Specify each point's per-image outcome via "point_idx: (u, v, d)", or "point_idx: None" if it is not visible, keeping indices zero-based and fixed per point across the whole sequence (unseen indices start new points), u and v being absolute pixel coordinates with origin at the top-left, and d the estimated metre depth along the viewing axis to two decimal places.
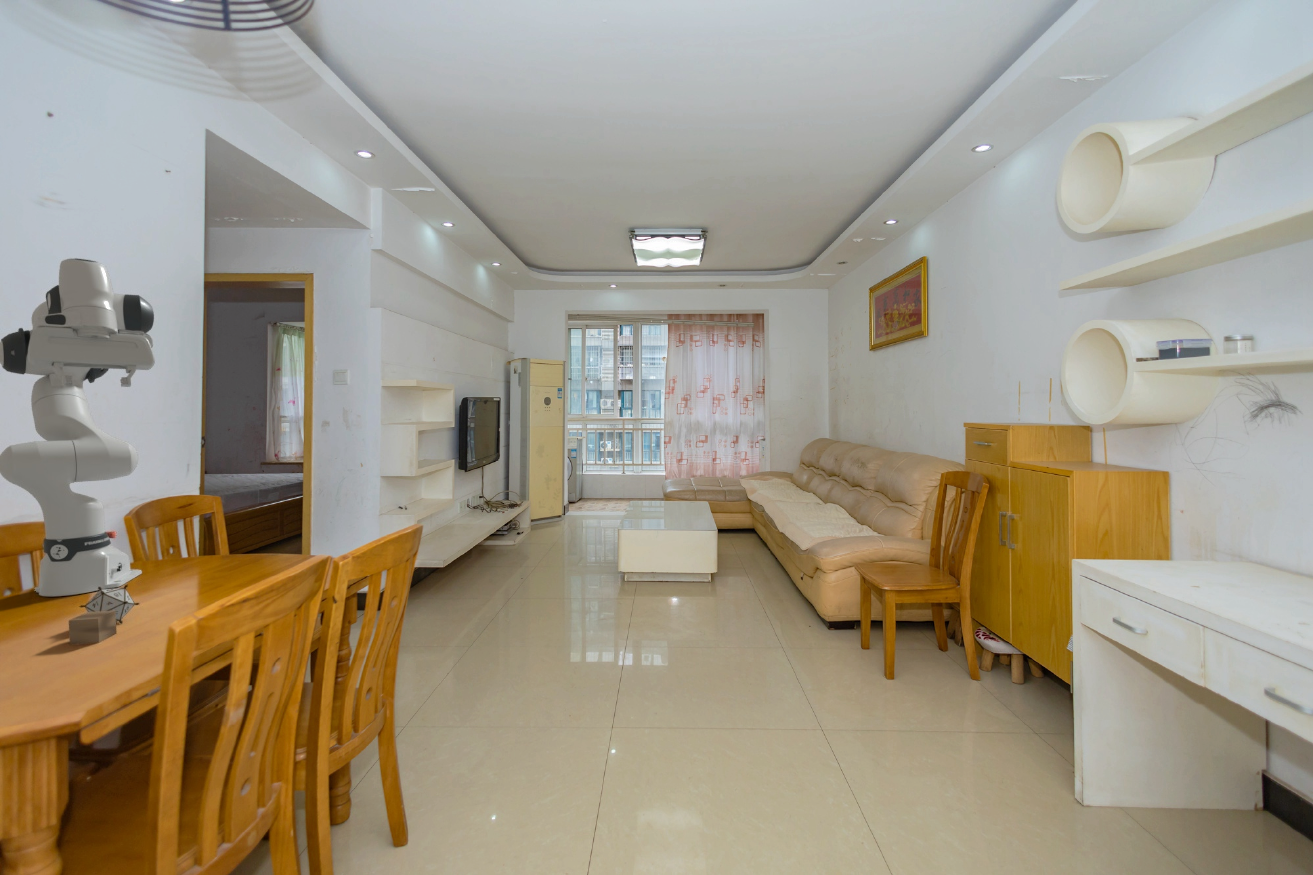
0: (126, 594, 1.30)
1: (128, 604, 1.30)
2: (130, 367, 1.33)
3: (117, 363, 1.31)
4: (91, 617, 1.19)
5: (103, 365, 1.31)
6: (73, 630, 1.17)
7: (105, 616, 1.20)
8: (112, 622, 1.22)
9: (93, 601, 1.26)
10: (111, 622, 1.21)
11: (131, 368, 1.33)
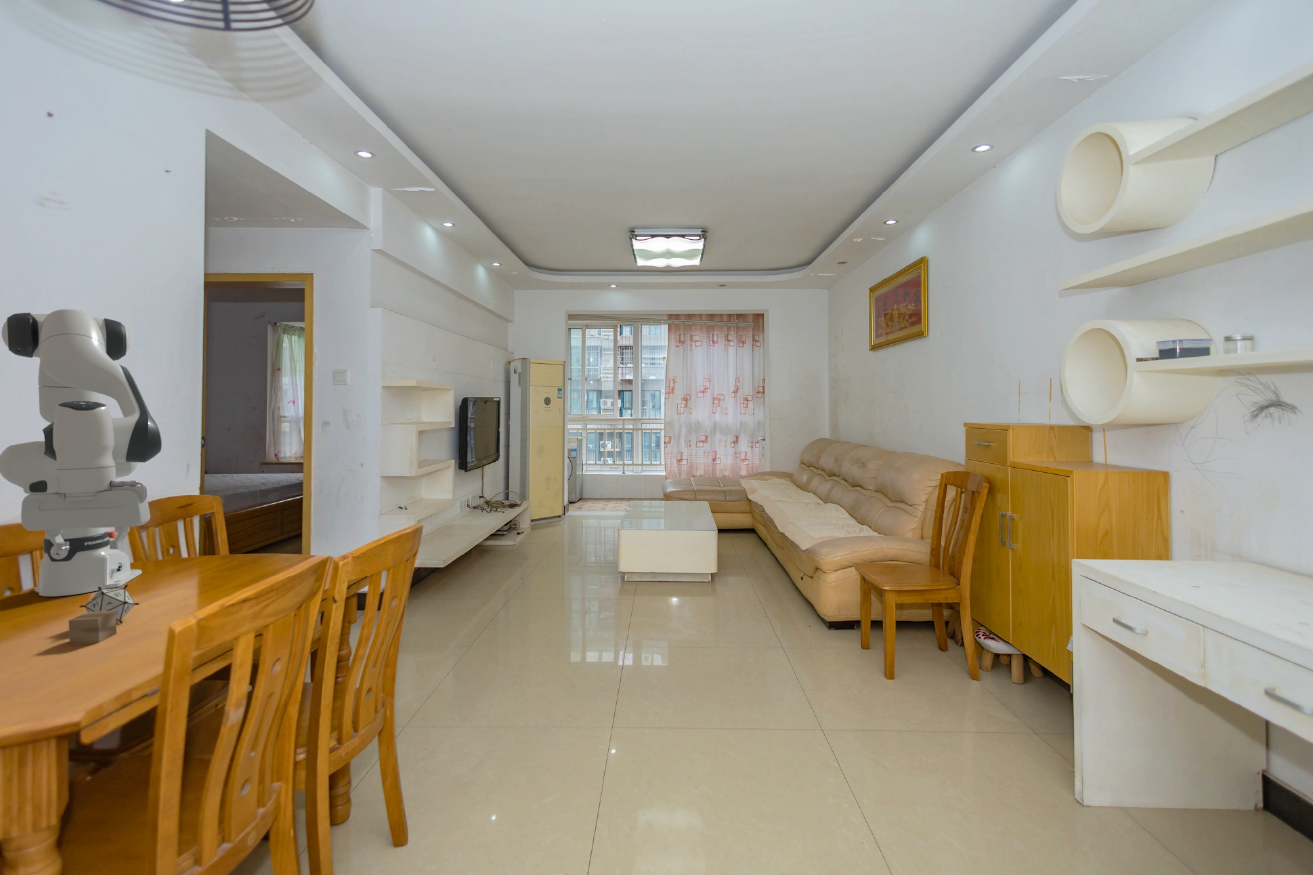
0: (126, 594, 1.30)
1: (128, 604, 1.30)
2: (117, 529, 1.19)
3: (102, 527, 1.18)
4: (91, 617, 1.19)
5: None
6: (73, 630, 1.17)
7: (105, 616, 1.20)
8: (112, 622, 1.22)
9: (93, 601, 1.26)
10: (111, 622, 1.21)
11: (118, 530, 1.19)
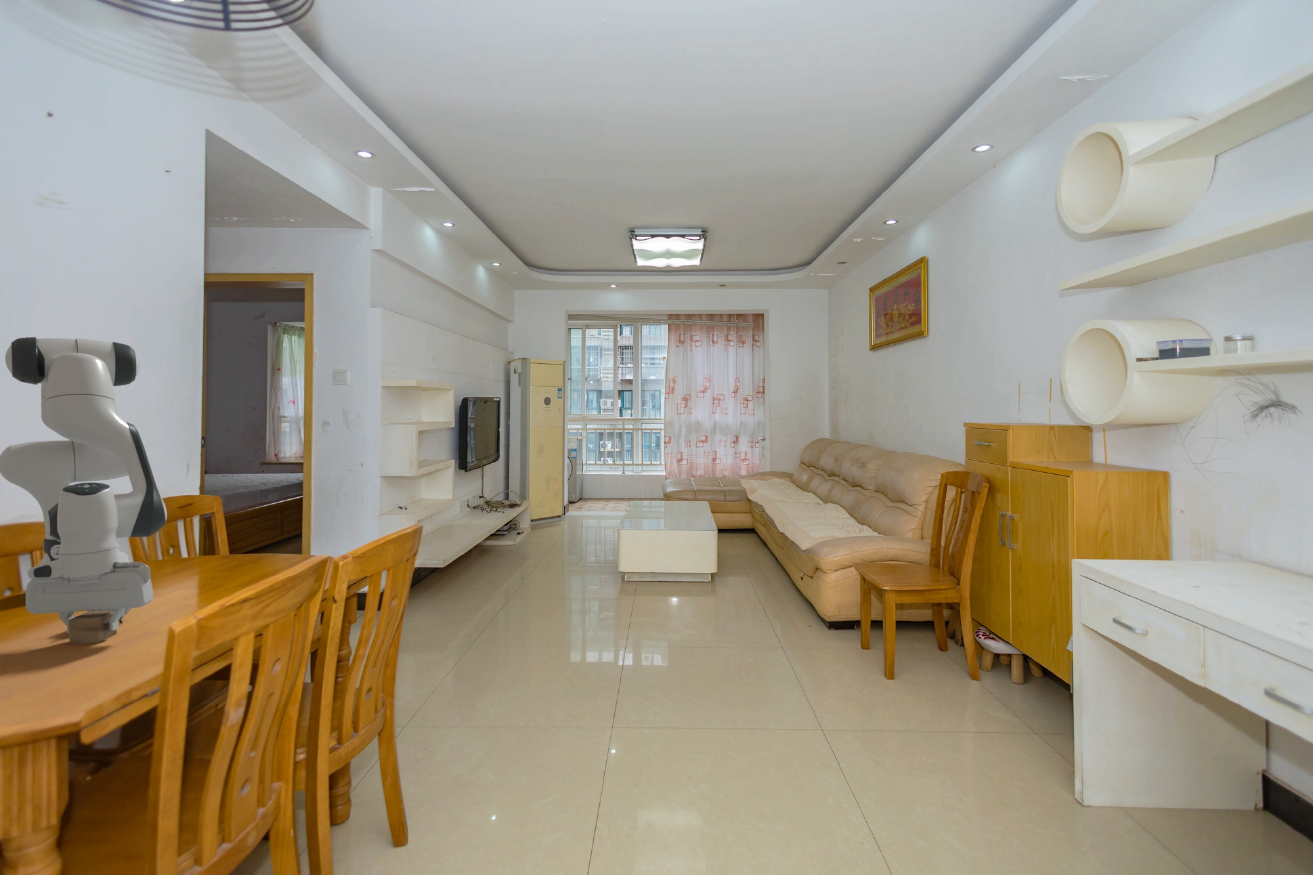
0: None
1: None
2: (112, 611, 1.20)
3: (106, 609, 1.19)
4: (91, 616, 1.18)
5: None
6: (73, 629, 1.17)
7: (105, 615, 1.20)
8: None
9: None
10: None
11: (113, 612, 1.20)
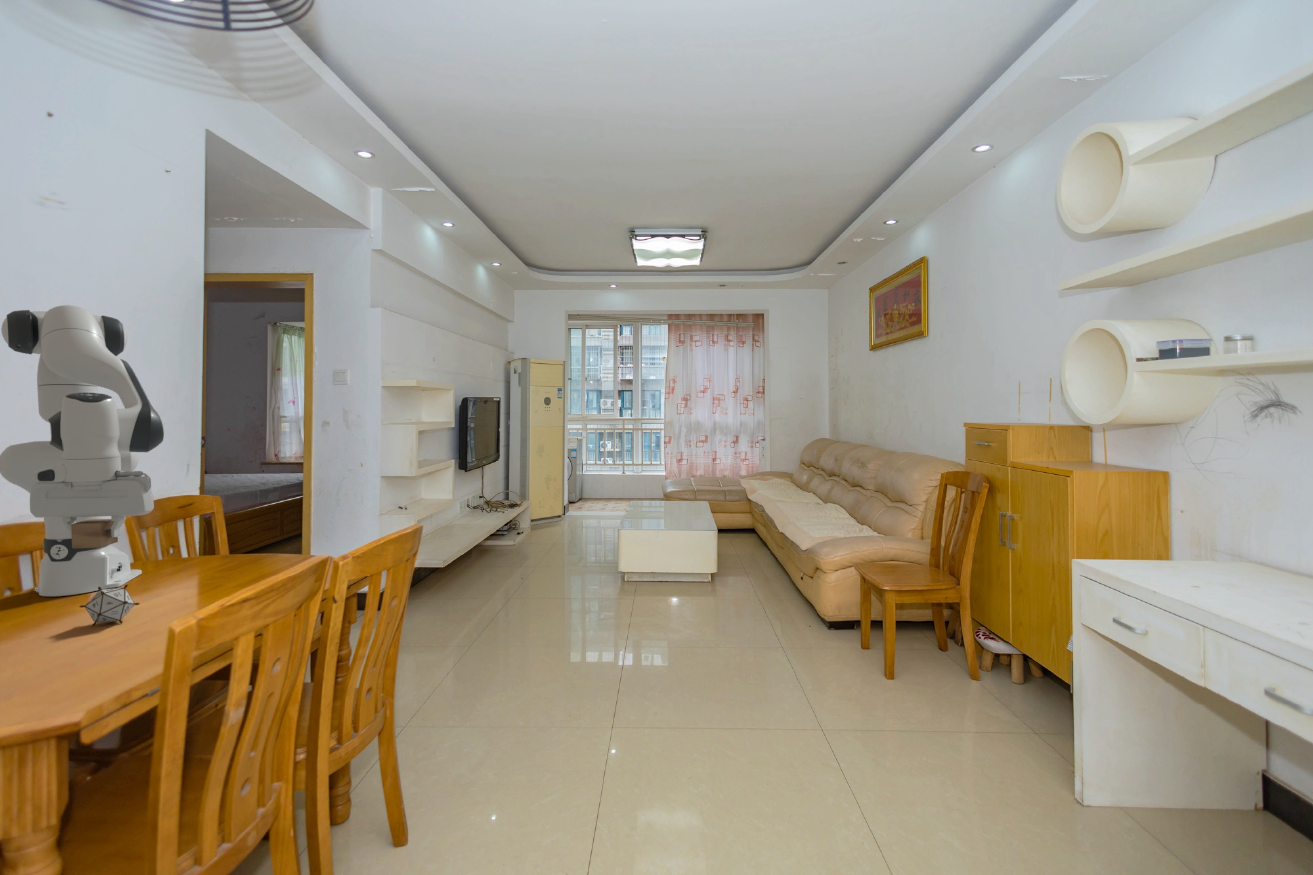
0: (126, 594, 1.30)
1: (128, 604, 1.30)
2: (114, 518, 1.22)
3: (108, 515, 1.22)
4: (93, 522, 1.21)
5: None
6: (75, 534, 1.20)
7: (107, 522, 1.23)
8: None
9: (93, 601, 1.26)
10: None
11: (115, 519, 1.23)
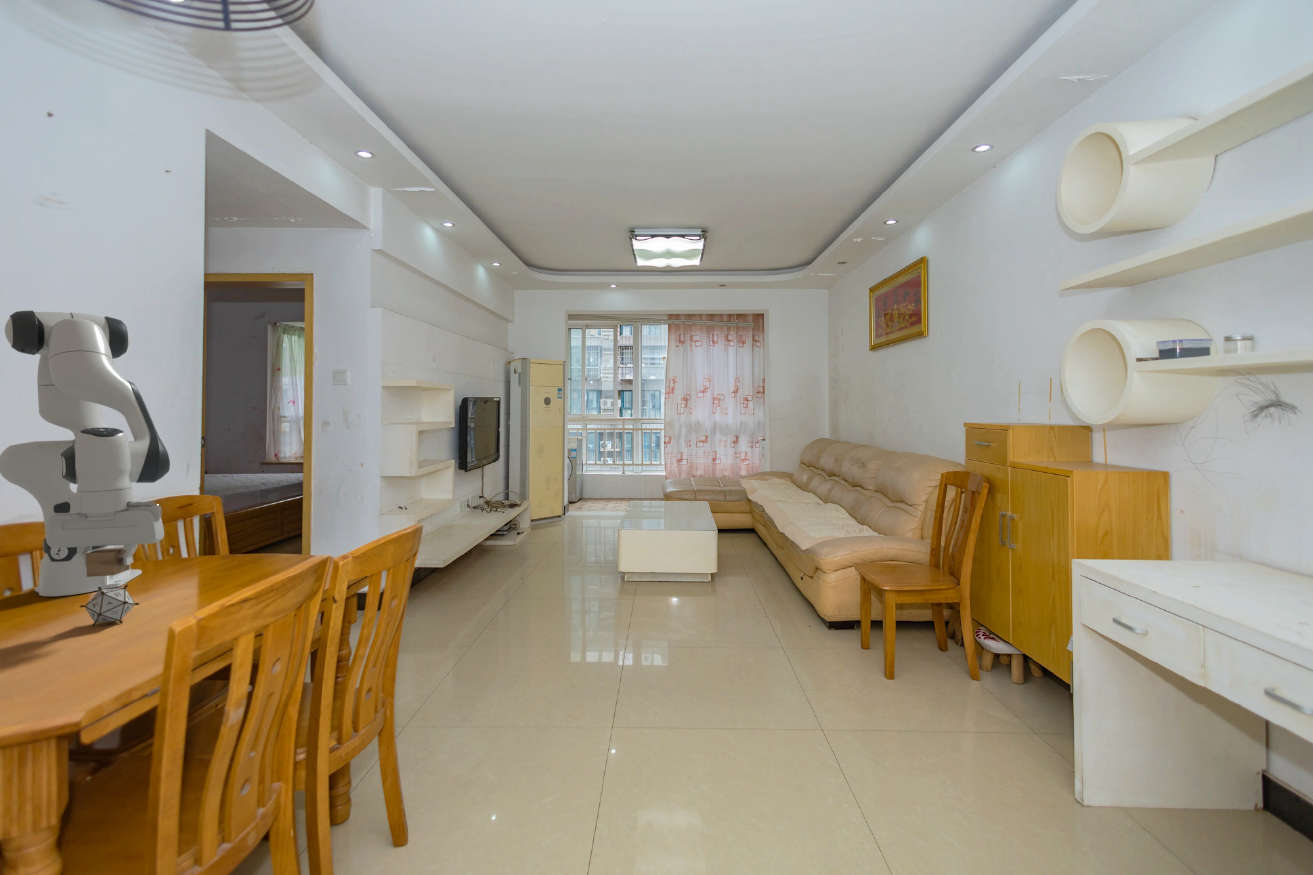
0: (126, 594, 1.30)
1: (128, 604, 1.30)
2: (126, 546, 1.28)
3: (121, 544, 1.28)
4: (106, 551, 1.27)
5: None
6: (90, 563, 1.26)
7: (119, 551, 1.28)
8: None
9: (93, 601, 1.26)
10: None
11: (127, 547, 1.28)
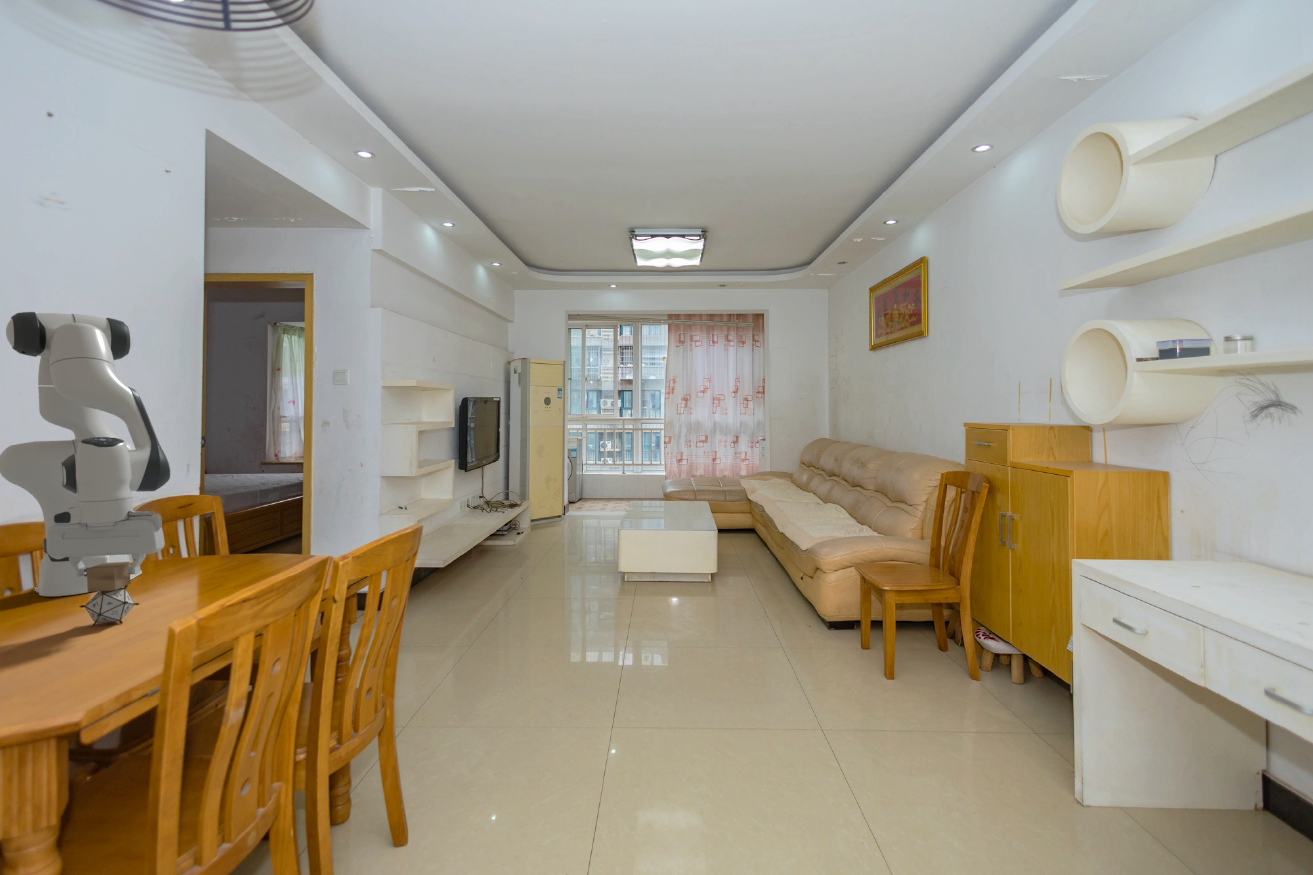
0: (126, 594, 1.30)
1: (128, 604, 1.30)
2: (134, 556, 1.29)
3: (121, 554, 1.28)
4: (107, 566, 1.27)
5: None
6: (91, 578, 1.26)
7: (120, 566, 1.29)
8: (126, 572, 1.30)
9: (93, 601, 1.26)
10: (125, 572, 1.30)
11: (135, 557, 1.29)
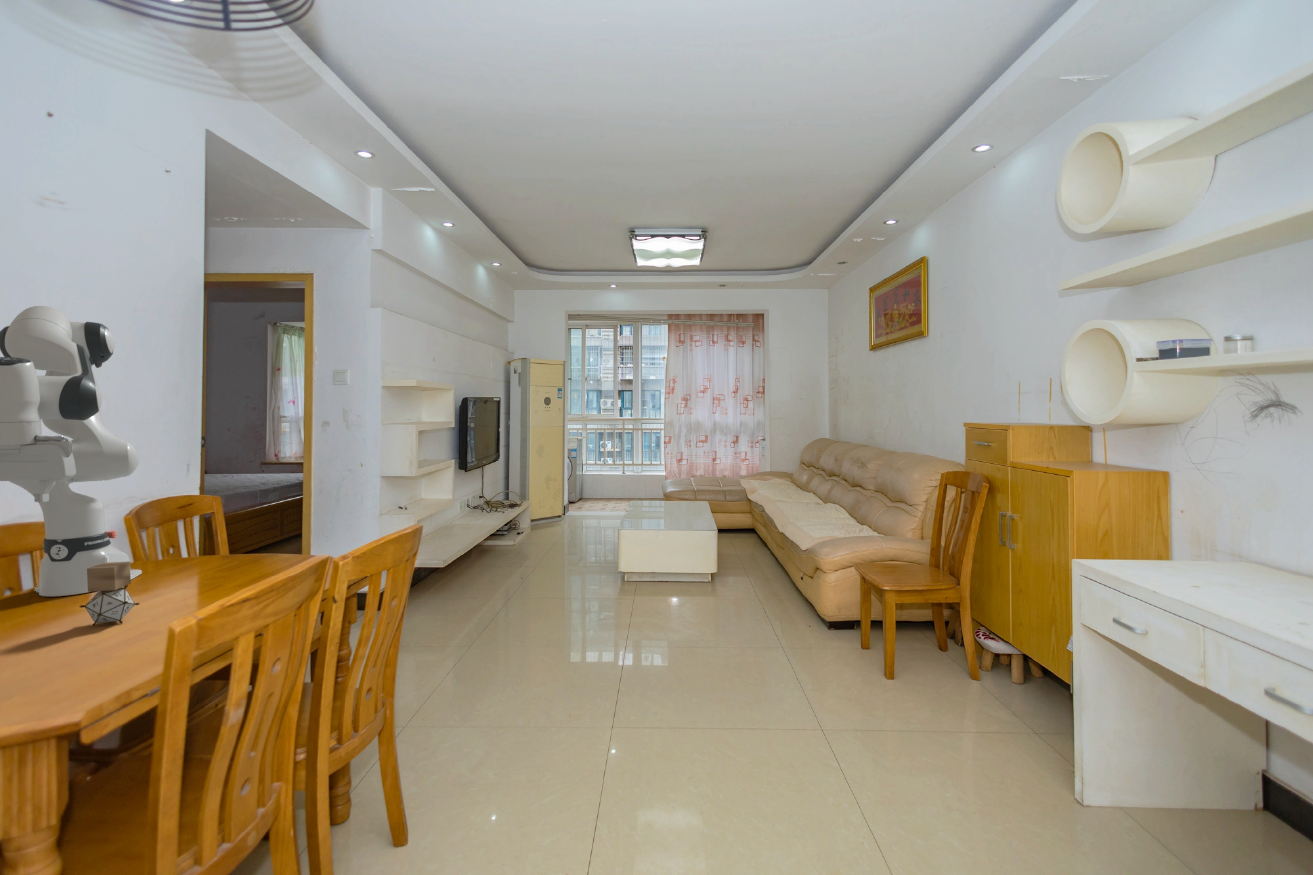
0: (126, 594, 1.30)
1: (128, 604, 1.30)
2: (42, 482, 1.22)
3: (27, 480, 1.21)
4: (107, 566, 1.27)
5: None
6: (91, 577, 1.26)
7: (120, 566, 1.29)
8: (126, 572, 1.31)
9: (93, 601, 1.26)
10: (126, 572, 1.30)
11: (43, 483, 1.22)
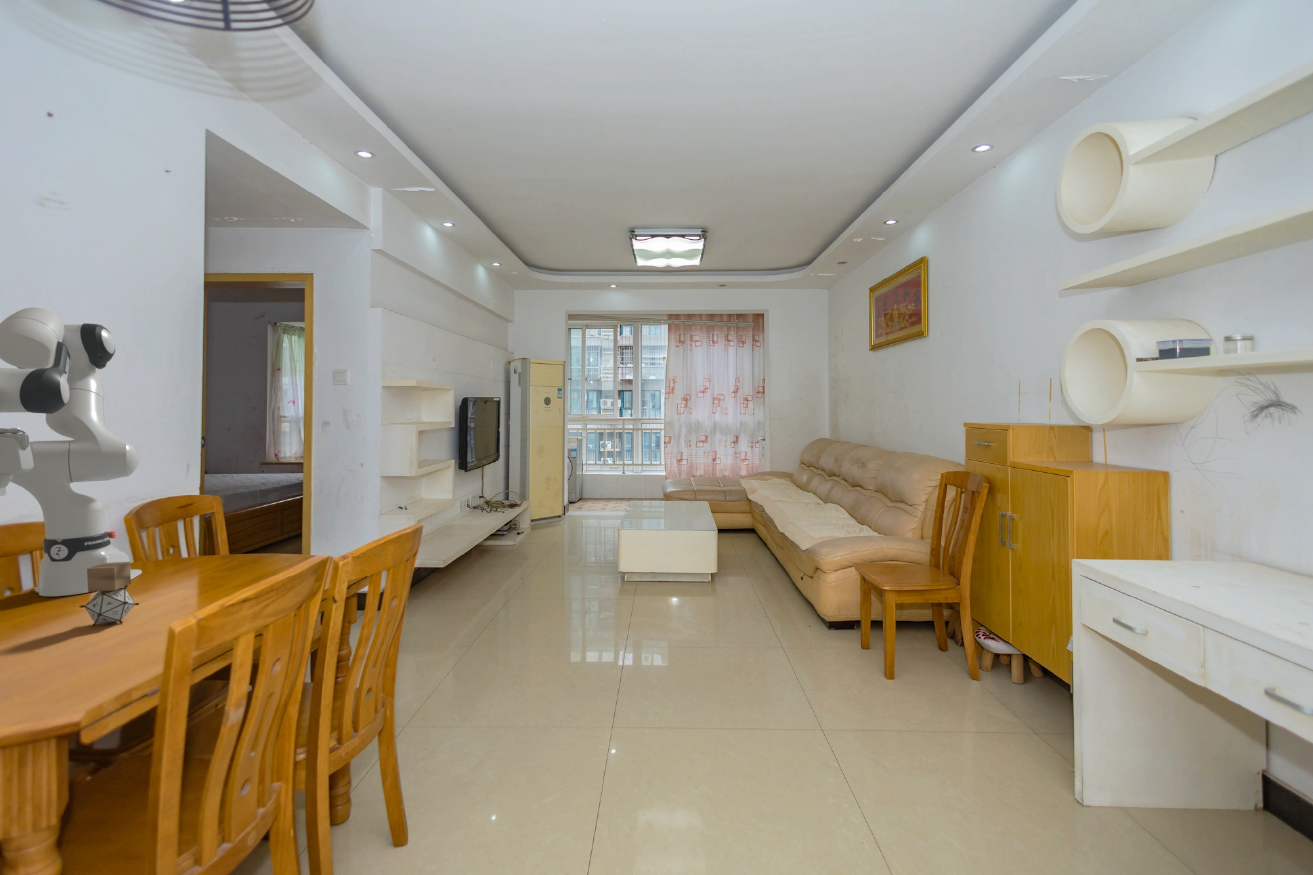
0: (126, 594, 1.30)
1: (128, 604, 1.30)
2: None
3: None
4: (107, 566, 1.27)
5: None
6: (91, 578, 1.26)
7: (120, 566, 1.29)
8: (126, 572, 1.31)
9: (93, 601, 1.26)
10: (126, 572, 1.30)
11: None
